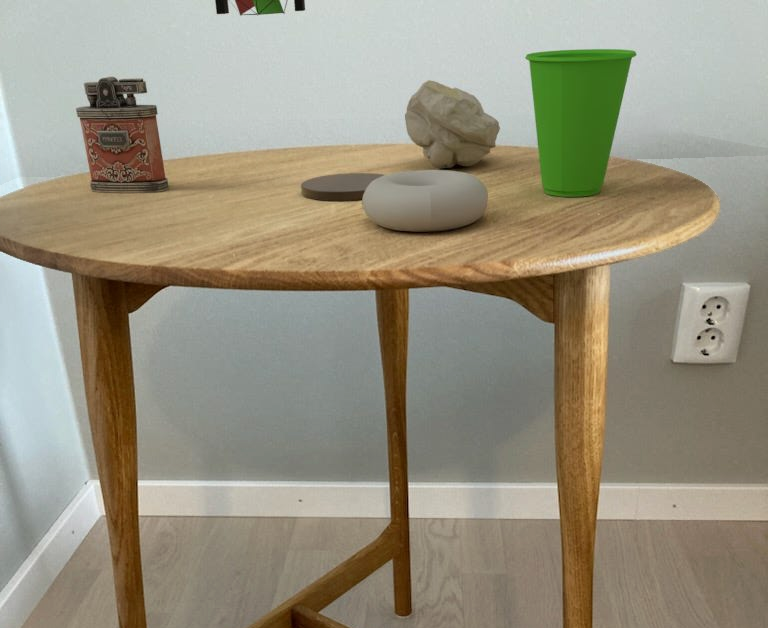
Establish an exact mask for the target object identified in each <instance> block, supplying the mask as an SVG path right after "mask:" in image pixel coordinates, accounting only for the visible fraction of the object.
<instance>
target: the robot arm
mask: <svg viewBox="0 0 768 628" xmlns="http://www.w3.org/2000/svg"><path fill="white" fill-rule="evenodd" d="M214 1H215V2H214V4H215V10H216V11H215V12H216V15H227V14H230V10H229V0H214ZM305 3H306V1H305V0H294V3H293V4H294V12H303V11H306V4H305Z"/></svg>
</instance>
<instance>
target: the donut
mask: <svg viewBox="0 0 768 628" xmlns="http://www.w3.org/2000/svg"><path fill="white" fill-rule="evenodd" d="M383 175H384V176H382V177H379V178H377V179H375V180H374V181H372V182H371V183H370V184H369V185H368V187H367V188H366V190H365V192H364V195H363V200H361V203H362V208H363V211H364V213H365V215H366V216H367V217H368V219H369V220H370V221H371V222H373V223H374V224H375V225H377V226H380V227H383V228H385V229H388V230H394V231H398V232H411V233H417V232H418V233H420V232H421V233H423V232H424V233H427V232H428V233H429V232H440V231H441V232H443V231H448V230H455V229H459V228H462V227H466V226H468V225H470V224H473V223H475V221H478V220H479V219H480V218H481V217H482V216H483V215H484V214H485V212H486V211H487V210H486V209H487V207H488V201H489V194H488V189H487V186H486V184H484V182H483V181H482V180H481V179H480V178H478V177H476V176H474V175H473V174H471V173H468V172H463V171H456V170H447V169H446V170H445V169H419V170H407V171H406V170H405V171H398V172H392V173H388V174H383Z"/></svg>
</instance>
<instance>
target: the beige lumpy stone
mask: <svg viewBox="0 0 768 628" xmlns="http://www.w3.org/2000/svg"><path fill="white" fill-rule="evenodd" d="M405 112H406V113H405V114H404V120H405V129H406V132H407V135H408V136H409V137H408V138H410V140H411V142H412V143H414V144H415V145H416V146H418V147H421V148H422V154H423V156H424V157H425V159H428V161H429V162H430V164H431V165H432V166H434V167H437V168H439V169H445V168H446V169H451V168H453V167H454V166H455V165H458V166H461V167H471V166H474V165H476V164H478V163H479V162H480V161H481V160H483V158H484V157H486V156H487V155H489V154H490V153H491V150H492V149H494V148H496V146H497V145H496V141H497V138H498V135H499V132H500V129H501V127H500V122H499V121H498V120H497V119H496V118H495V117H494V116H492V115H490V114H488V113H487V112H485V110H484V108H483V105H482V104H481V102H480V100H479V99H478V98H477V97H476V96H475V95H474V94H471V93H469V92H467V91H465V90H462V89H460V88H459V87H453V88H452V87H449V86H448V85H445V84H442V83H440V82H439V81H438V82H437V81H435V80H431V79H430V80H427V81H425V82H423V83H422V84H421V85H420V86H419V88H418V90H417V91H416V92H415V93H413V94H412V95H411V97H410V99H409V100H408V103H407V105H406V111H405Z"/></svg>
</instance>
